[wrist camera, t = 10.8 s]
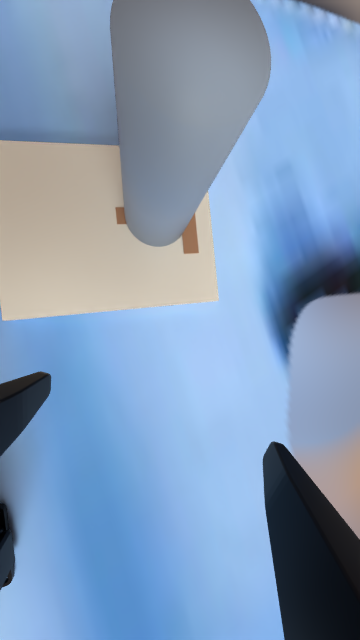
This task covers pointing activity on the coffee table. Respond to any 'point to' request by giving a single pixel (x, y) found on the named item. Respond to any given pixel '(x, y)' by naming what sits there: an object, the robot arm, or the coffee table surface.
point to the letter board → (87, 238)
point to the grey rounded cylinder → (181, 102)
